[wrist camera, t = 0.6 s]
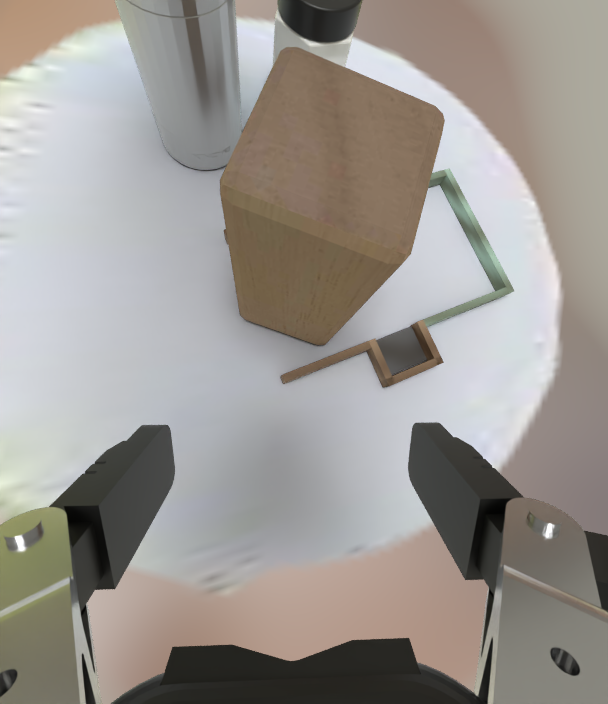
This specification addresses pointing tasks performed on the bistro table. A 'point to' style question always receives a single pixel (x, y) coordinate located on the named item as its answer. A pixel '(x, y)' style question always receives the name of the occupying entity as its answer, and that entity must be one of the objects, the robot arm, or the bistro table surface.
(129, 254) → the bistro table surface
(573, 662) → the robot arm
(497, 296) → the notched outline frame
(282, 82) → the block
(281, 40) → the jar
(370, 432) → the bistro table surface
